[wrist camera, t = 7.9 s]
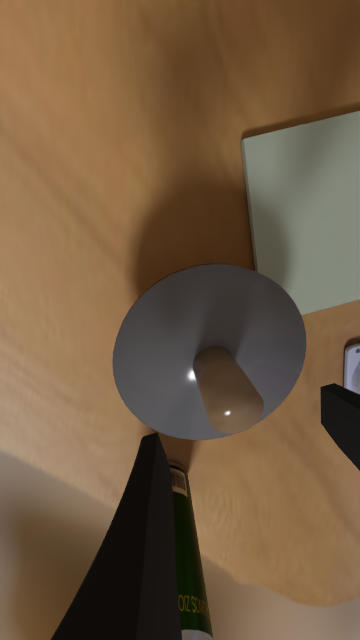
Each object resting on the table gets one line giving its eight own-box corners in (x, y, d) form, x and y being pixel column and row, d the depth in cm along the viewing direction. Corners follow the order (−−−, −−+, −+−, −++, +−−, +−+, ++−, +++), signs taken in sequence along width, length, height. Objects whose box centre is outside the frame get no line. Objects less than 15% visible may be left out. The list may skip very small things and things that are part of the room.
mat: (428, 96, 15) (436, 92, 15) (404, 284, 20) (410, 285, 19) (240, 142, 15) (243, 138, 14) (261, 323, 19) (263, 325, 19)
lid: (300, 245, 13) (379, 249, 8) (297, 410, 17) (348, 471, 13) (88, 285, 12) (53, 313, 8) (139, 446, 17) (135, 524, 12)
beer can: (145, 453, 23) (140, 662, 12) (194, 461, 24) (233, 657, 13) (130, 490, 24) (113, 706, 13) (177, 496, 26) (198, 698, 14)
